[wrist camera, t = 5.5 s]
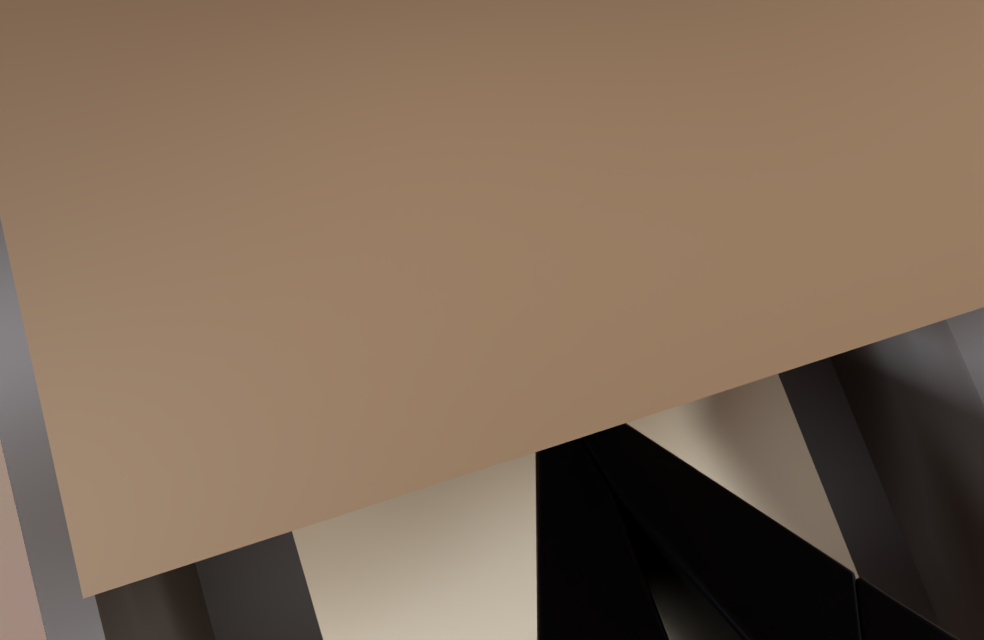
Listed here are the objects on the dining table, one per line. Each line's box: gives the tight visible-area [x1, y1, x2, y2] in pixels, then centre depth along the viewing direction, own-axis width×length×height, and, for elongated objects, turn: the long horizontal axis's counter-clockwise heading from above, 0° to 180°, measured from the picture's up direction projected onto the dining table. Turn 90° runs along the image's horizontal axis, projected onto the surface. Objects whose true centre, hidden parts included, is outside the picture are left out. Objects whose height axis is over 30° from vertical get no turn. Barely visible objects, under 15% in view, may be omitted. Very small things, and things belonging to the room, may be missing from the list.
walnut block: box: [0, 0, 984, 599], centre depth 8 cm, size 8×7×8 cm
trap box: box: [0, 219, 984, 640], centre depth 12 cm, size 18×16×8 cm
